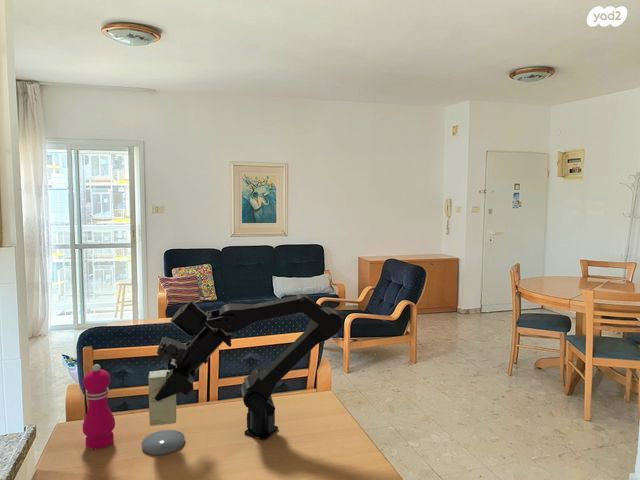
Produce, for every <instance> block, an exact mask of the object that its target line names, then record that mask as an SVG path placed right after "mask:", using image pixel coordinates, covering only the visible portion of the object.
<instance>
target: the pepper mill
mask: <svg viewBox="0 0 640 480" xmlns="http://www.w3.org/2000/svg"><path fill="white" fill-rule="evenodd" d="M91 369H92V370H90V371H89V372H87V373H86V374H85V376H84V378H83V380H82V385H83V388H84V389H85V390H86V391H85V394H86V396H85V398H86V399H87V400H88V409H87V412H86V415H85V418H84V420H83V423H82V433H83V434H84V436H86V437H85V447H86V448H87V449H90V450H100V449H104V448H107V447H109V446H110V445H111V444H112V443H114V441H115V437H114V431H113V430H114V429H115V427H116V420H115V416H114V414H113V413H112V410H111V409H110V407H109V403H108V402H109V401H108V396H109V394H110V392H109V386H110V384H111V375H110V373H109V372H108V371H107V370H105V369H101V365H100V364H98V363H96V364H94V365H93V366H92V368H91Z"/></svg>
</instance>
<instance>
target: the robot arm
mask: <svg viewBox="0 0 640 480" xmlns="http://www.w3.org/2000/svg"><path fill="white" fill-rule="evenodd" d="M301 313H302V314H304V315H305V316H306V317H308V318H309V319H310V320H309V322H308V324H307V327H306V329H305V331H303V332H302V333H301V334H300V336H298V337H297V338H296V339H295V340H294V341H292V342H291V344H290V345H289V346H288V347H287V348H285V350H284V351H283V352H282V353H281V354H279V356H278V357H276V358H275V359H274V360H273V361H272V362H271V364H269V365H268V366H267V367H266V368H265V369H263V370H260V371H258V370H257V368H254V369H253V370H252V371H251V372H250V373H249V375H247V376H246V377H243V380H244V381H243V382H242V384H241V389H240V390H241V391H240V392H241V395H242V400H243V404H244V406H245V407H246V408H247V413H246V428H247V429H246V430H244V434H245V435H247V436H250V437H254V438H257V439H260V440H263V441H266V440H267V439H268V438H269V437H271V436H272V435H273V434H274V433H275V432H276V431H278V429H279V426H278V425H276V407H275V403H274V401H273V398H272V394H273V393H274V391H275V388H276V386H277V385H278V383H279V382H280V381H281V380H282V379H283V378H284V377H285V376H286V375H287V374H288V373H289V372H290V371H291V370H292V369H294V367H296V365H298V363H300V361H302V360H303V359H304V358H305V357H306V356H307V355H308V354H309V353H310V352H311V351H312V350H313V349H314V348H316V347H317V345H319V344H322V343H323V342H326V341H328V340H330V339H331V338H333V337H335V335H337V334H338V333H339V332H340V331H341V330H342V328H343V321H342V317H341V316H340V315H339V314H338V313H337V312H336V311H334V309H333V308H331V307H327V306H322V305H320V304H319V303H317V302H316V301H314V300H312V299H311V298H309V297H308V295H306V294H303V293H300V294H297V295H293V296H289V297H284V298H278V299H274V300H273V299H272V300H269V301H264V302H259V303H254V304H253V303H252V304H248V303H226V304H224V305H222V306H221V308H218V309H211V310H209V311H206V312H205V311H204V310H203V309H201V308H200V307H199V306H198V305H197V304H196V302H194V301H193V300H191V299H190V300H189V301H188V302H187V303H186V304H184V305H183V306H180V307H179V308H178V310H177V311H176V312H175V313H174V314H173V315H172V317H171V318H170V323H172V324H173V325H174V326H176V328H178V329H179V330H180V331H181V332H182V333H184V334H185V335H186V336H187V337H189V336H192V337H194V336H195V337H194V338H193V339H192V340H191V339H190V340H187V342H185V343H183V342H182V341H181V342H180V341H178V340H175V339H174V338H171V337H167V336H163V337H162V338H161V341H160V343H159V345H158V347H157V351H156V354H157V355H158V356H160V357H165V358H167V370H170V369H172V370H171V371H170V372H168V371H167V373H166V382H165V383H164V385H163V386H162V388H161V389H160V391H159V392H158V393H157V395H156V396H155V400H157V401H160V400H162V399H164V398H167V397H169V396H172V395H174V394H176V395H177V394H180V393H182V394H183V395H184V396H186V397H188V396H189V395H190V394H191V393H192V392H193V391H194V377H195V376H196V375H197V370H199V368H201V366H202V365H203V364H204V365H206V364H208V362H209V359H210V357H211V356H212V355H213V354H214V353H215V351H216V350H217V349H219V347H220V346H222V345H223V343H224V344H225V345H226V346H227V347H229V348H231V347H232V338H233V337H232V336H233V335H232V333H233V334H234V333H236V332H239V331H241V330H243V329H246V328H249V327H250V326H251V325H253V324H255V323H258V322H263V321H267V320H271V319H277V318H281V317H287V316H291V315H295V314H301Z"/></svg>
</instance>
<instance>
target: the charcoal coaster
mask: <svg viewBox="0 0 640 480" xmlns="http://www.w3.org/2000/svg"><path fill="white" fill-rule="evenodd" d="M185 441H186V439H185V434H184V433H183V432H181V431H179V430H176V429H175V430H174V429H163V430H159V431H154V432H152V433H150V434H149V435H147V436H145V438H144V439H142V442H141V450H142V451H143V452H144V453H145V454H148V455H151V456H164V455H169V454H172V453H174V452H176V451H178V450H180V449H181V448H182V447H183V445H184V444H185Z"/></svg>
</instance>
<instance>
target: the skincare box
mask: <svg viewBox="0 0 640 480" xmlns="http://www.w3.org/2000/svg"><path fill="white" fill-rule="evenodd" d="M171 370H172V369H170V370H168V369H160V370H150V371H149V373H148V411H149V413H148V414H149V415H148V417H149V419H148V420H149V426H150V427H153V426H165V425H172V424H173V425H174V424H176V423H177V394H174V395H172V396H169V397H167V398H164V399H162V400H160V401H157V400H155V396H156V395H157V393H158V392H159V391H160V389H161V388H162V386H163V385H164V383H165V382H166V373H167V371H168V372H170V371H171Z"/></svg>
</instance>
